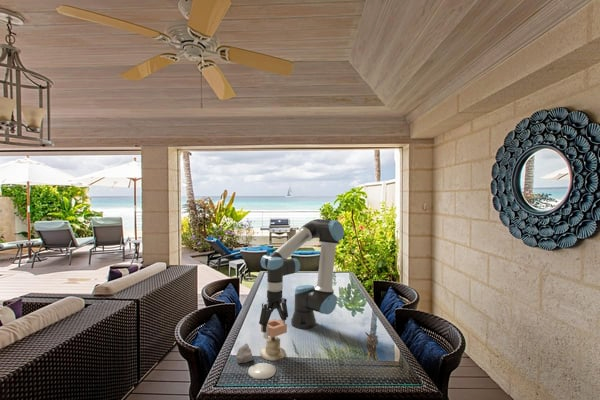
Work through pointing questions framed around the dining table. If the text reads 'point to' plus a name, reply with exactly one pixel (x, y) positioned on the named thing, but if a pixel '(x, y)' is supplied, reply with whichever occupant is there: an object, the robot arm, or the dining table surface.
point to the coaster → (262, 371)
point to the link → (275, 328)
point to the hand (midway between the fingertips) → (273, 335)
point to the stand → (272, 350)
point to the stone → (244, 354)
